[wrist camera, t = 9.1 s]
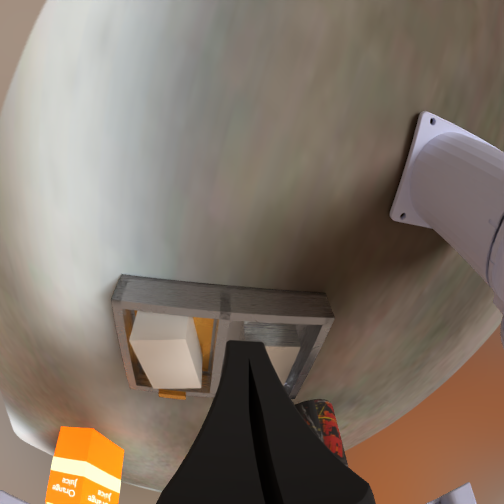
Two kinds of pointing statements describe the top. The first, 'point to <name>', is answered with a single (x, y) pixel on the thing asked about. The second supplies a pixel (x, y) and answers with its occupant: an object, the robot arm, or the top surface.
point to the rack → (226, 326)
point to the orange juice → (84, 468)
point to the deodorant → (323, 424)
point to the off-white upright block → (168, 350)
